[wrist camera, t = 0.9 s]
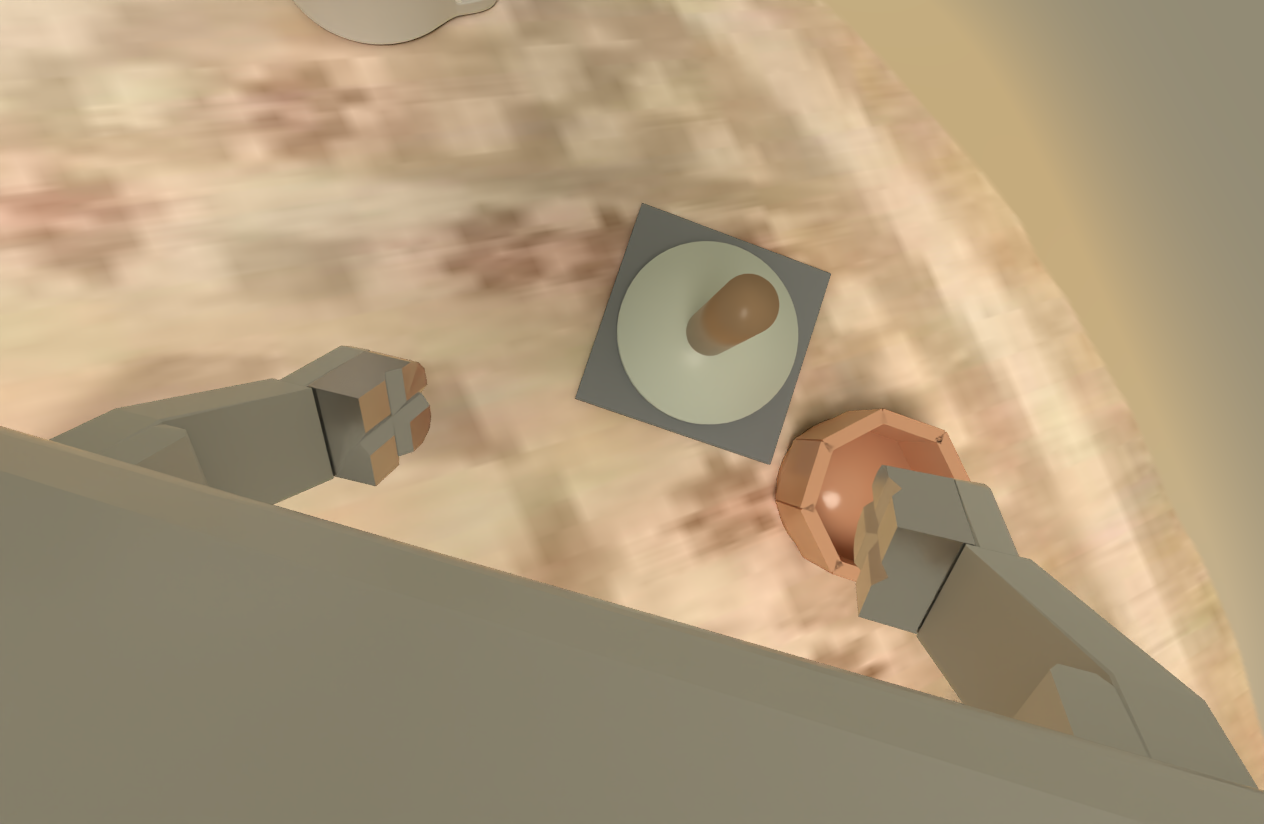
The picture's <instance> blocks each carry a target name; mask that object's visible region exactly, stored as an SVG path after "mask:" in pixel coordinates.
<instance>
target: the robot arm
mask: <svg viewBox="0 0 1264 824" xmlns="http://www.w3.org/2000/svg"><path fill="white" fill-rule="evenodd" d="M293 1H294V2H295V4H296V5H297V6H298V7H299V8H300V9H301V10H302V11H303V12H304V13H305V14H306V15H307V16H308V17H309V18H310V19H311V20H313V21H314V22H315V23H317V24H318V25H319V26H321V27H322V28H324V29H326V30H328V31H329V32H331V33H333V34H336V35H338V36H340V37H343V38H346V39H349V40H352V41H356V42H361V43H367V44H395V43H401V42H406V41H410V40H413V39H416V38H418V37H421V36H423V35H425V34H427V33H429V32H431V31H433V30H434V29H436V28H437V27H439V26H440V25H442V24H443V23H445V22H446V21H448V20H450V19H452V18H454V17H456V16H460V15H466V14H472V13H477V12H481V11H484V10H487V9H489V8H491V7H492V6H493V5H494V4H495V2H496V0H293ZM426 386H427V380H426V374H425V368H424V367H423V366H422V365H421V364H420V363H419V362H416V361H412V360H408V359H403V358H399V357H395V356H391V355H387V354H383V353H379V352H374V351H370V350H367V349H362V348H357V347H352V346H340V347H338V348H336V349H335V350H333V351H331V352H329V353H327V354H326V355H324V356H322V357H320V358H318V359H317V360H315V361H313V362H311V363H309V364H307V365H306V366H304V367H302V368H300V369H298V370H297V371H295V372H293V373H291V374H289V375H288V376H286V377H284V378H282V379H280V380H276V379H267V380H262V381H257V382H251V383H246V384H241V385H236V386H231V387H225V388H220V389H215V390H210V391H205V392H199V393H194V394H189V395H184V396H178V397H173V398H168V399H163V400H158V401H152V402H147V403H142V404H137V405H132V406H126V407H121V408H116V409H113V410H111V411H109V412H107V413H105V414H103V415H101V416H98V417H96V418H94V419H92V420H90V421H88V422H86V423H84V424H82V425H79V426H77V427H75V428H73V429H71V430H69V431H67V432H65V433H62V434H60V435H58V436H56V437H54V438H52V439H50V440H47V439H43V438H40V437H36V436H33V435H30V434H26V433H23V432H19V431H16V430H12V429H9V428H5V427H2V426H0V824H1264V791H1263V790H1260V789H1258V787H1257V785H1256V784H1255V782H1254V780H1253V779H1252V777H1251V776H1250V774H1249V772H1248V771H1247V769H1246V767H1245V766H1244V764H1243V762H1242V761H1241V759H1240V758H1239V756H1238V754H1237V753H1236V751H1235V749H1234V748H1233V746H1232V744H1231V743H1230V741H1229V740H1228V738H1227V736H1226V735H1225V733H1224V731H1223V730H1222V728H1221V726H1220V725H1219V723H1218V722H1217V720H1216V718H1215V717H1214V715H1213V713H1212V712H1211V710H1210V708H1209V707H1208V705H1207V704H1206V702H1205V701H1204V700H1203V699H1202V698H1201V697H1199V696H1198V695H1197V694H1196V693H1195V692H1193V691H1192V690H1191V689H1190V688H1188V687H1187V686H1186V685H1185V684H1183V683H1182V682H1181V681H1180V680H1179V679H1177V678H1176V677H1175V676H1174V675H1172V674H1171V673H1170V672H1169V671H1167V670H1166V669H1165V668H1164V667H1163V666H1161V665H1160V664H1159V663H1158V662H1156V661H1155V660H1154V659H1153V658H1151V657H1150V656H1149V655H1148V654H1147V653H1145V652H1144V651H1143V650H1142V649H1140V648H1139V647H1138V646H1137V645H1135V644H1134V643H1133V642H1132V641H1131V640H1129V639H1128V638H1127V637H1126V636H1124V635H1123V634H1122V633H1121V632H1119V631H1118V630H1117V629H1116V628H1115V627H1113V626H1112V625H1111V624H1110V623H1108V622H1107V621H1106V620H1105V619H1103V618H1102V617H1101V616H1100V615H1099V614H1097V613H1096V612H1095V611H1094V610H1092V609H1091V608H1090V607H1089V606H1088V605H1086V604H1085V603H1084V602H1083V601H1081V600H1080V599H1079V598H1078V597H1076V596H1075V595H1074V594H1073V593H1072V592H1070V591H1069V590H1068V589H1067V588H1065V587H1064V586H1063V585H1062V584H1060V583H1059V582H1058V581H1057V580H1056V579H1054V578H1053V577H1052V576H1051V575H1049V574H1048V573H1047V572H1046V571H1044V570H1043V569H1042V568H1041V567H1040V566H1038V565H1037V564H1036V563H1035V562H1033V561H1032V560H1031V559H1027V558H1023V557H1019V555H1018V552H1017V550H1016V548H1015V545H1014V543H1013V541H1012V538H1011V536H1010V533H1009V531H1008V529H1007V526H1006V524H1005V522H1004V519H1003V517H1002V515H1001V512H1000V510H999V508H998V505H997V503H996V500H995V498H994V496H993V493H992V491H991V489H990V488H989V487H988V486H987V485H985V484H981V483H976V482H970V481H965V480H959V479H954V478H948V477H943V476H938V475H933V474H928V473H923V472H917V471H912V470H907V469H902V468H897V467H892V466H887V465H881V467H880V468H879V470H878V472H877V474H876V476H875V479H874V481H873V484H872V491H873V500H874V501H872V502H871V503H869V504H867V505H866V506H864V507H863V510H862V513H861V515H860V518H859V521H858V524H857V529H856V534H855V538H854V563H855V564H856V565H857V567H858V568H859V569H860V570H861V571H860V574H859V576H858V579H857V581H856V595H857V608H858V617H861V618H865V619H868V620H872V621H875V622H878V623H882V624H885V625H888V626H892V627H895V628H899V629H902V630H905V631H909V632H912V633H915V634H917V638H918V639H919V641H920V642H921V644H922V645H923V647H924V648H925V649H926V651H927V652H928V654H929V655H930V657H931V658H932V659H933V661H934V662H935V664H936V665H937V667H938V668H939V669H940V671H941V672H942V674H943V675H944V677H945V678H946V680H947V681H948V682H949V684H950V685H951V687H952V688H953V690H954V691H955V692H956V694H957V695H958V697H959V698H960V700H961V701H962V702H963V704H962V703H958V702H955V701H951V700H948V699H944V698H941V697H937V696H934V695H931V694H927V693H924V692H920V691H917V690H913V689H910V688H906V687H903V686H899V685H896V684H892V683H889V682H885V681H882V680H878V679H875V678H871V677H867V676H864V675H861V674H857V673H854V672H850V671H847V670H843V669H840V668H836V667H833V666H829V665H826V664H823V663H819V662H816V661H812V660H809V659H805V658H802V657H798V656H795V655H791V654H788V653H784V652H781V651H778V650H774V649H771V648H767V647H764V646H760V645H757V644H753V643H750V642H746V641H743V640H740V639H736V638H733V637H729V636H726V635H722V634H719V633H715V632H712V631H708V630H705V629H701V628H698V627H695V626H691V625H688V624H684V623H681V622H677V621H674V620H670V619H667V618H663V617H660V616H657V615H653V614H650V613H646V612H643V611H639V610H636V609H632V608H629V607H625V606H622V605H618V604H615V603H612V602H608V601H605V600H601V599H598V598H594V597H591V596H587V595H584V594H580V593H577V592H573V591H570V590H566V589H563V588H560V587H556V586H553V585H549V584H546V583H542V582H539V581H535V580H532V579H528V578H525V577H521V576H518V575H514V574H511V573H507V572H504V571H500V570H497V569H493V568H490V567H486V566H483V565H479V564H476V563H472V562H469V561H465V560H462V559H459V558H455V557H452V556H448V555H445V554H441V553H438V552H434V551H431V550H427V549H424V548H420V547H417V546H414V545H410V544H407V543H403V542H400V541H396V540H393V539H389V538H386V537H382V536H379V535H376V534H372V533H369V532H365V531H362V530H358V529H355V528H351V527H348V526H344V525H341V524H337V523H334V522H331V521H327V520H324V519H320V518H317V517H313V516H310V515H306V514H303V513H299V512H296V511H292V510H289V509H286V508H282V507H279V506H275V505H273V504H276V503H278V502H280V501H283V500H285V499H287V498H290V497H292V496H294V495H296V494H299V493H301V492H303V491H306V490H308V489H310V488H313V487H315V486H317V485H320V484H322V483H324V482H326V481H329V480H331V479H333V478H334V476H335V477H339V478H344V479H348V480H352V481H356V482H360V483H365V484H369V485H373V486H377V485H378V484H379V483H380V482H381V481H382V480H383V479H384V478H385V477H386V476H388V475H389V474H390V473H391V472H392V471H393V470H394V469H395V468H396V467H397V466H398V465H399V456H401V455H404V454H407V453H410V452H413V451H415V450H416V449H417V448H418V447H419V446H420V445H421V444H422V443H423V441H424V439H425V437H426V435H427V433H428V431H429V428H430V420H431V412H430V405H429V403H428V402H427V401H426V399H425V398H424V396H423V395H422V394H421V393H422V391H423V390H424V388H425V387H426Z"/></svg>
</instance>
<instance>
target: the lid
mask: <svg viewBox="0 0 1264 824" xmlns="http://www.w3.org/2000/svg"><path fill="white" fill-rule="evenodd" d="M617 344H618V351H619V355H620V359H621V362H622V365H623V367H624V370H625V372H626V374H627V376H628V378H629V379H630V381H631V383H632V384H633V386H634V387H635V388H636V390H637V391H638V392H639V394H640V395H641V396H642V397H643V398H644V399H645V400H646V401H647V402H648V403H650V404H651V405H652V406H654V407H655V408H656V409H658V410H659V411H661V412H663V413H665V414H666V415H668V416H671V417H673V418H675V419H678V420H681V421H685V422H689V423H695V424H721V423H728V422H732V421H735V420H739V419H741V418H744V417H746V416H748V415H751V414H752V413H754V412H756V411H757V410H759V409H760V408H762V407H763V406H764V405H765V404H767V403H768V402H769V401H770V400H771V399H772V398H773V397H774V396H775V395H776V394H777V393H778V391H779V390H780V389H781V387H782V386H783V385H784V383H785V381H786V380H787V378H788V376H789V374H790V372H791V369H792V367H793V364H794V361H795V357H796V353H797V346H798V323H797V316H796V312H795V308H794V305H793V302H792V300H791V297H790V295H789V293H788V291H787V289H786V287H785V286H784V284H783V282H782V281H781V280H780V278H779V277H778V276H777V274H776V273H775V272H774V271H773V270H772V269H771V268H770V267H769V266H768V265H767V264H766V263H764V262H763V261H762V260H761V259H760V258H758V257H757V256H755V255H753V254H752V253H750V252H748V251H746V250H744V249H742V248H739V247H737V246H734V245H730V244H727V243H721V242H715V241H699V242H690V243H686V244H682V245H679V246H676V247H673V248H671V249H668V250H667V251H665V252H663V253H661V254H659V255H658V256H656V257H655V258H654V259H652V260H651V261H650V262H649V263H648V264H646V265H645V266H644V267H643V268H642V269H641V270H640V272H639V273H638V274H637V275H636V277H635V278H634V279H633V281H632V283H631V284H630V286H629V288H628V289H627V292H626V294H625V296H624V299H623V301H622V304H621V308H620V311H619V315H618V322H617Z"/></svg>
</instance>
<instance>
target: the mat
mask: <svg viewBox="0 0 1264 824" xmlns="http://www.w3.org/2000/svg"><path fill="white" fill-rule="evenodd" d="M699 241H715V242H721V243H727V244H730V245H734V246H737V247H739V248H742V249H744V250H746V251H748V252H750V253H752V254H753V255H755V256H757V257H758V258H760V259H761V260H762V261H763V262H764V263H766V264H767V265H768V266H769V267H770V268H771V269H772V270H773V271H774V272H775V273H776V274H777V276H778V277H779V278H780V280H781V281H782V282H783V284H784V286H785V287H786V289H787V291H788V293H789V295H790V297H791V300H792V302H793V305H794V308H795V312H796V316H797V323H798V346H797V353H796V357H795V361H794V364H793V367H792V369H791V372H790V374H789V376H788V378H787V380H786V381H785V383H784V385H783V386H782V387H781V389H780V390H779V391H778V393H777V394H776V395H775V396H774V397H773V398H772V399H771V400H770V401H769V402H768V403H767V404H765V405H764V406H763V407H762V408H760V409H759V410H757V411H756V412H754V413H752V414H751V415H748V416H746V417H744V418H741V419H739V420H735V421H732V422H728V423H721V424H695V423H689V422H685V421H681V420H678V419H675V418H673V417H671V416H668V415H666V414H665V413H663V412H661V411H659V410H658V409H656V408H655V407H654V406H652V405H651V404H650V403H648V402H647V401H646V400H645V399H644V398H643V397H642V396H641V395H640V394H639V392H638V391H637V390H636V388H635V387H634V386H633V384H632V383H631V381H630V379H629V378H628V376H627V374H626V372H625V370H624V367H623V365H622V362H621V359H620V355H619V351H618V344H617V322H618V315H619V311H620V308H621V304H622V301H623V299H624V296H625V294H626V292H627V289H628V288H629V286H630V284H631V283H632V281H633V279H634V278H635V277H636V275H637V274H638V273H639V272H640V270H641V269H642V268H643V267H644V266H645V265H646V264H648V263H649V262H650V261H651V260H652V259H654V258H655V257H656V256H658V255H659V254H661V253H663V252H665V251H667V250H668V249H671V248H673V247H676V246H679V245H682V244H686V243H690V242H699ZM830 276H831V274H830V273H828V272H825V271H822V270H820V269H817V268H814V267H812V266H809V265H806V264H804V263H801V262H798V261H796V260H793V259H790V258H788V257H785V256H782V255H780V254H777V253H774V252H772V251H769V250H766V249H764V248H761V247H758V246H756V245H753V244H750V243H748V242H745V241H742V240H740V239H737V238H734V237H732V236H729V235H726V234H724V233H721V232H718V231H716V230H713V229H710V228H708V227H705V226H702V225H700V224H697V223H694V222H692V221H689V220H686V219H684V218H681V217H678V216H676V215H673V214H671V213H668V212H665V211H663V210H660V209H657V208H655V207H652V206H649V205H647V204H644V203H642V205H641V208H640V211H639V214H638V217H637V220H636V223H635V225H634V228H633V231H632V234H631V237H630V240H629V243H628V246H627V249H626V252H625V255H624V258H623V261H622V263H621V266H620V269H619V272H618V275H617V278H616V281H615V284H614V287H613V290H612V293H611V296H610V298H609V301H608V304H607V307H606V310H605V313H604V316H603V319H602V322H601V325H600V328H599V331H598V333H597V336H596V339H595V342H594V345H593V348H592V351H591V354H590V357H589V360H588V363H587V366H586V368H585V371H584V374H583V377H582V380H581V383H580V386H579V389H578V392H577V395H576V398H575V399H578V400H581V401H584V402H587V403H589V404H592V405H595V406H598V407H601V408H604V409H607V410H610V411H613V412H616V413H619V414H622V415H625V416H628V417H631V418H633V419H636V420H639V421H642V422H645V423H648V424H651V425H654V426H657V427H660V428H663V429H666V430H669V431H672V432H675V433H677V434H680V435H683V436H686V437H689V438H692V439H695V440H698V441H701V442H704V443H707V444H710V445H713V446H716V447H719V448H722V449H724V450H727V451H730V452H733V453H736V454H739V455H742V456H745V457H748V458H751V459H754V460H757V461H760V462H763V463H766V464H769V465H770V464H771V460H772V457H773V454H774V451H775V448H776V445H777V442H778V439H779V435H780V432H781V429H782V426H783V423H784V420H785V417H786V413H787V410H788V407H789V404H790V401H791V398H792V395H793V392H794V388H795V385H796V382H797V379H798V376H799V373H800V370H801V366H802V363H803V360H804V357H805V354H806V351H807V348H808V345H809V341H810V338H811V335H812V332H813V329H814V326H815V323H816V320H817V316H818V313H819V310H820V307H821V304H822V301H823V298H824V294H825V291H826V288H827V285H828V282H829V279H830Z"/></svg>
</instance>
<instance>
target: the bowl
mask: <svg viewBox="0 0 1264 824" xmlns="http://www.w3.org/2000/svg"><path fill="white" fill-rule="evenodd" d="M881 465H887V466H892V467H897V468H902V469H907V470H912V471H917V472H923V473H928V474H933V475H938V476H943V477H948V478H954V479H959V480H965V481H970V479H969V477H968V475H967V473H966V471H965V469H964V467H963V465H962V463H961V460H960V458H959V456H958V454H957V452H956V450H955V448H954V446H953V444H952V442H951V440H950V438H949V436H948V433H947V432H945V430H942V429H939V428H936V427H934V426H931V425H928V424H925V423H922V422H920V421H917V420H914V419H911V418H908V417H906V416H903V415H900V414H897V413H894V412H892V411H889V410H886V409H871V410H855V411H847V412H845V413H843V414H841V415H839V416H837V417H835V418H833V419H829V420H826V421H823V422H821V423H819V424H816V425H815V426H813V427H811V428H810V429H808V430H807V431H805V432H804V433H803V434H802V435H800V436H798V437H796V438H795V440H793V443H792V446H791V447H790V448H789V450H788V451H787V453H786V455H785V457H784V459H783V461H782V464H781V466H780V469H779V473H778V477H777V484H776V497H775V499H776V501H775V502H776V504H777V508H778V511H779V515H780V518H781V521H782V523H783V526H784V528H785V529H786V531H787V533H788V535H789V536H790V537H791V539H792V540H793V541H794V543H795V544H796V545H797V547H798V549H799V551H800V553H801V555H802V557H804V558H805V559H807V560H809V561H810V562H812V563H814V564H816V565H817V566H819V567H821V568H823V569H824V570H826V571H828V572H830V573H832V574H834V575H837V576H840V577H843V578H846V579H849V580H852V581H855V582H856V581H857V579H858V576H859V574H860V571H861V570H860V569H859V568H858V567H857V565H856V564H855V563H854V538H855V534H856V529H857V524H858V521H859V518H860V515H861V513H862V510H863V507H864V506H866V505H867V504H869V503H871V502H872V501H874V500H873V491H872V484H873V481H874V479H875V476H876V474H877V472H878V470H879V468H880V467H881ZM970 482H971V481H970Z"/></svg>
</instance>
